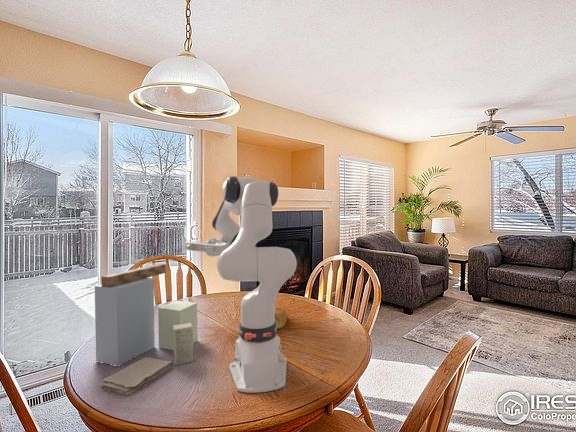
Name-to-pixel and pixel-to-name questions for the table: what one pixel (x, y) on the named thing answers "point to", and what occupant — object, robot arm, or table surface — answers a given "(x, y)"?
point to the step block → (176, 321)
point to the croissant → (280, 318)
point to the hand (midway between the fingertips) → (196, 248)
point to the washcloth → (136, 375)
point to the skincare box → (183, 343)
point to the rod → (132, 275)
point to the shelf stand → (124, 321)
